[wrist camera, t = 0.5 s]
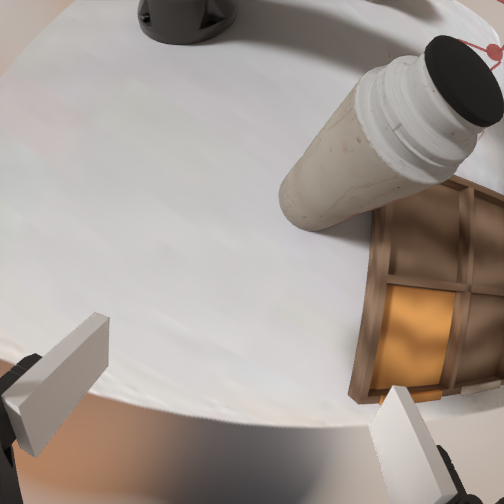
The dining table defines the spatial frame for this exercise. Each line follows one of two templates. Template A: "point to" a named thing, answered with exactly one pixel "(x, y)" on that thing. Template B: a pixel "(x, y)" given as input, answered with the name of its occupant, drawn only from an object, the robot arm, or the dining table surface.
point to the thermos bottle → (394, 135)
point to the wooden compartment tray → (433, 296)
